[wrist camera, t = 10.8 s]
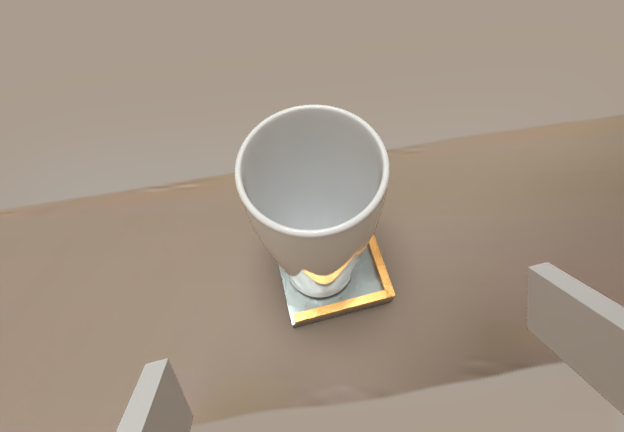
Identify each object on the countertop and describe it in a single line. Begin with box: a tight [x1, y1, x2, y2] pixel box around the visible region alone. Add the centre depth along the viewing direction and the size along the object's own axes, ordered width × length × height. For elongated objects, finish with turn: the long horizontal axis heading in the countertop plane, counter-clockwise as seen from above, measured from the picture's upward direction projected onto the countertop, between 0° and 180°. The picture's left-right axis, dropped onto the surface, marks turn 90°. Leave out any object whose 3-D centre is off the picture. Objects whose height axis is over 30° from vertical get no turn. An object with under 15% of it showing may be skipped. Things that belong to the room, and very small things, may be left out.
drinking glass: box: [235, 105, 390, 298], centre depth 22 cm, size 7×7×15 cm
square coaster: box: [279, 233, 395, 328], centre depth 29 cm, size 8×8×2 cm
